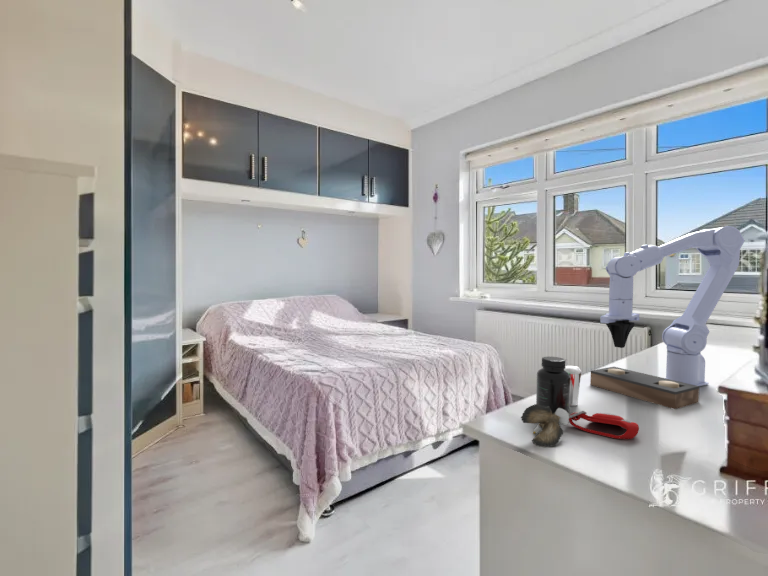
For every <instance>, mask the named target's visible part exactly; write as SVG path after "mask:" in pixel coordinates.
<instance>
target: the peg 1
mask: <svg viewBox="0 0 768 576" xmlns="http://www.w3.org/2000/svg"><path fill="white" fill-rule="evenodd" d="M608 372H609V373H613V374H617V375H623V374H625V371H624V370H620V369H608Z"/></svg>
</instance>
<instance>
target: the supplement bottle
mask: <svg viewBox="0 0 768 576" xmlns="http://www.w3.org/2000/svg"><path fill="white" fill-rule="evenodd" d="M541 367H542V368H541V369H539V370H538V371H537V373H536V397H535V399H536V400H535V404H538V405H541V406H546V407H547V406H549V407H550V409H551V411H552V414H553V413H555V412H556V410H557V409H558V408H562V409H564V410H565V411H567V413H568V414H570V406H569V405H570V375H569V374H568V372H566V371H565V370H564V369H565V368H566V363H565V358H564V357H563V358H562V357H559V356H543V357H542V358H541Z"/></svg>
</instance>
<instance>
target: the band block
mask: <svg viewBox="0 0 768 576" xmlns="http://www.w3.org/2000/svg"><path fill="white" fill-rule="evenodd" d="M608 369H620V370H624V371H625V374H623V375H617V374H613V373H609V372H608ZM659 381H671V382H676V383H678V384H679V388H670V387H666V386H662V385H659ZM589 385H590V386H593V387H597V388H600V389H603V390H607V391H610V392H614V393H617V394H620V395H624V396H628V397H629V398H630V397H631V398H634V399H638V400H641V401H644V402H648V403H652V404H655V405H659V406H662V407H666V408H668V409H669V408H670V409H673V410H678V409H682V408H685V407H689V406H692V405H696V404H699V403H700V402H699V399H700V398H699V396H700V386H696V385H692V384H687V383H683V382H679V381H674V380H670V379H666V377H661V376H657V375H652V374H647V373H644V372H643V373H642V372H640V371H634V370H629V369H626V368H621V367H618V366H610V367H603V368H598V369H597V368H596V369H592V370H590V383H589Z"/></svg>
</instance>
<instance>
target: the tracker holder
mask: <svg viewBox="0 0 768 576" xmlns="http://www.w3.org/2000/svg"><path fill="white" fill-rule="evenodd" d="M568 414H569V421H568V423H569V425H571V426H573V427H575V428H576V429H578V430H581V431H584V432H587V433H590V434H593V435H599V436H603V437H608V438H611V439H617V440H633V439H634V438H635V437H636V436H638V434H639V431H640V430H639V429H640V427H639V424H638V423H637V422H633V421H631V420H628V419H625V418H623V417H622V416H620V415H616V414H613V413H606V412H602V413H601V412H600V413H599V412H598V413H597V412H596V413H593V414H592V415H588V414H587V412H586V411H585V410H581V411H576V412H575V411H573V412H571V413H568ZM581 419H582V420H585V421H587V422H592V423H593V422H594V423H600V424H605V425H606V424H607V425H614V426H619V427H620V428H621V429H624V430H626V431H625V432H624V433H623V434H620V435H616V434H612V433H609V432H603V431H600V430H595V429H590V428H587V427H583V426H580V425H579V424H576V422H577V421H579V420H581ZM574 421H575V422H574Z"/></svg>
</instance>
